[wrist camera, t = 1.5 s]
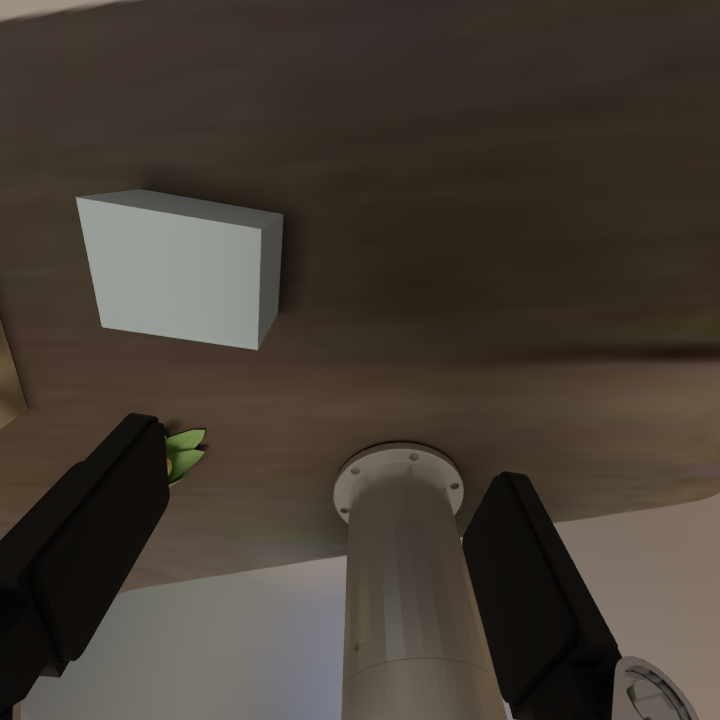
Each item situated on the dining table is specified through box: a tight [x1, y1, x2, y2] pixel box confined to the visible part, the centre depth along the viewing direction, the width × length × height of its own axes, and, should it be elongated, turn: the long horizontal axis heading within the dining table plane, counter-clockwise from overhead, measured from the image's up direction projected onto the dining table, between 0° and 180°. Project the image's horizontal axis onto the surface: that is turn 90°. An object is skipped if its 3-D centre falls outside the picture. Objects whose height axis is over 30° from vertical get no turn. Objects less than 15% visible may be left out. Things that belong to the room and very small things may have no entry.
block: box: [76, 189, 284, 350], centre depth 22 cm, size 7×9×6 cm
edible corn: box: [165, 430, 205, 487], centre depth 33 cm, size 5×20×5 cm, turn 124°
